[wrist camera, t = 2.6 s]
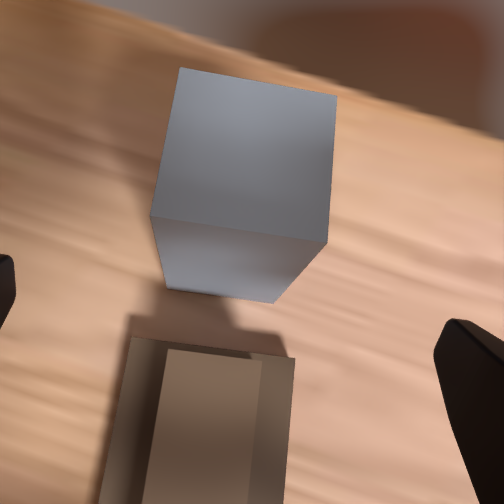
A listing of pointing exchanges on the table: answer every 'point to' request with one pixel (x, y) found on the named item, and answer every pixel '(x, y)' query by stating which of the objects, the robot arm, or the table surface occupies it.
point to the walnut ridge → (199, 426)
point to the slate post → (242, 185)
